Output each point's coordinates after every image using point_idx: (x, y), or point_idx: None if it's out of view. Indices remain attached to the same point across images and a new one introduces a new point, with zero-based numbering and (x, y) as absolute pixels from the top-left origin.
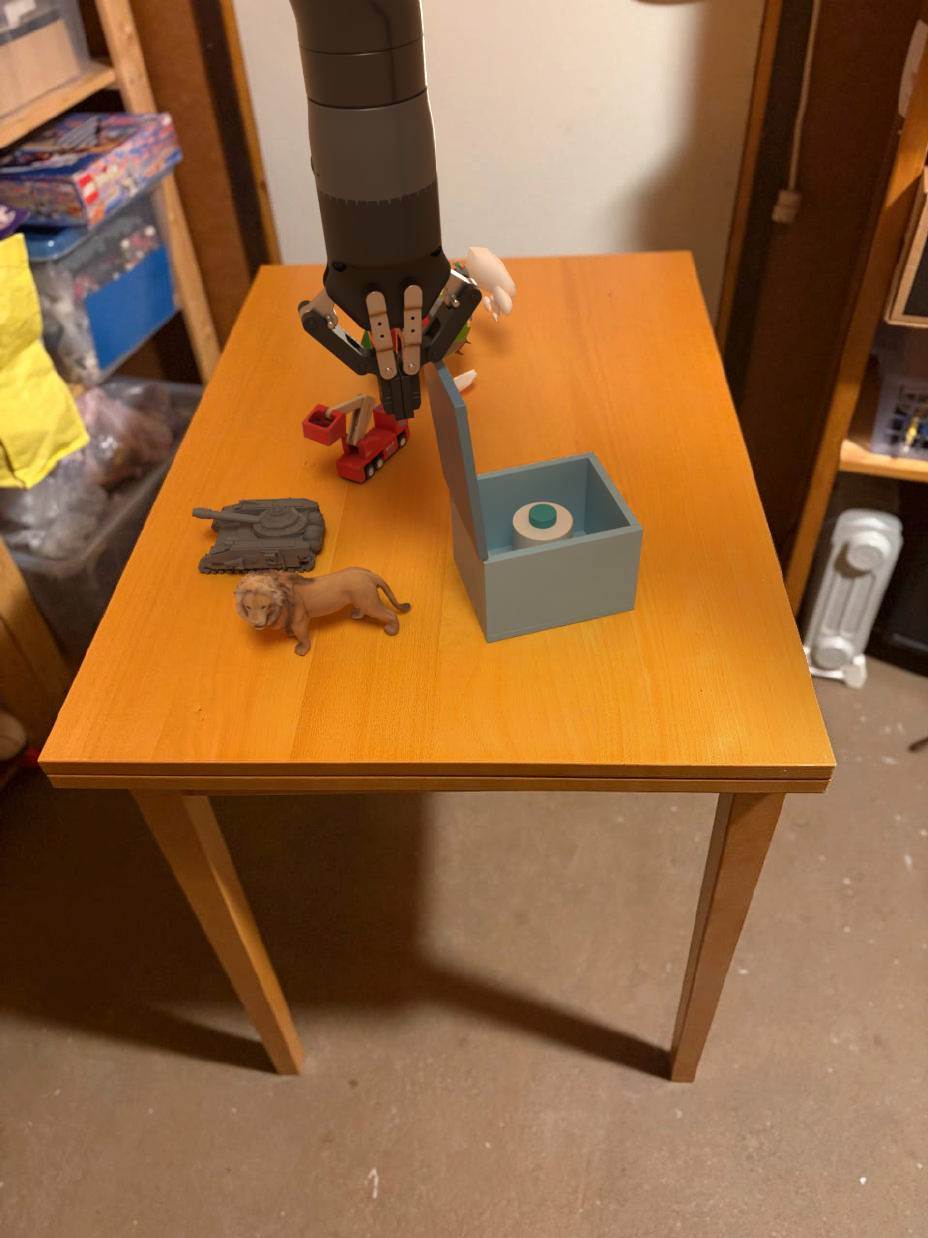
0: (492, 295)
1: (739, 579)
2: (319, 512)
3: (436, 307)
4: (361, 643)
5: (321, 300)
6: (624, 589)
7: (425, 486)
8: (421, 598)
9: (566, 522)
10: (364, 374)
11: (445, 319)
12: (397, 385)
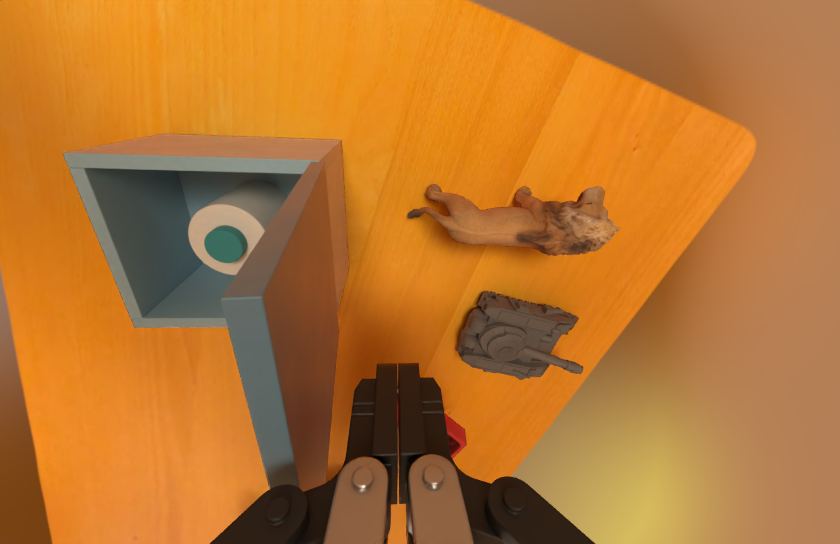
0: None
1: (19, 139)
2: (460, 351)
3: None
4: (466, 184)
5: None
6: (156, 138)
7: (354, 363)
8: (393, 226)
9: (197, 228)
10: (504, 478)
11: None
12: (409, 434)
